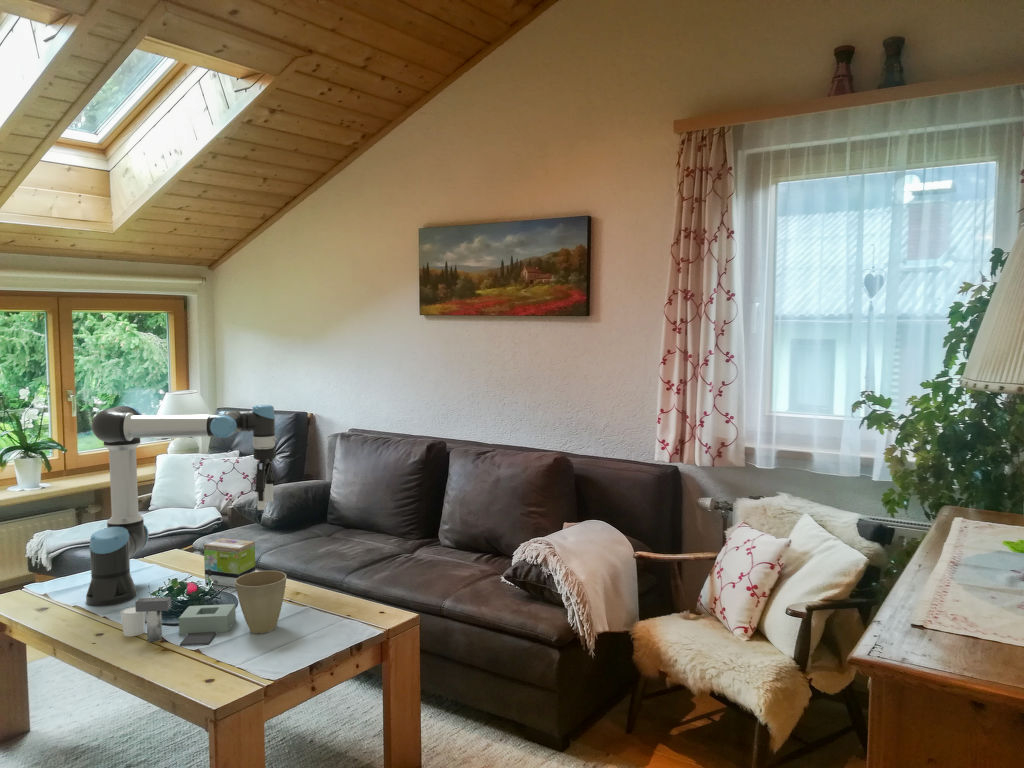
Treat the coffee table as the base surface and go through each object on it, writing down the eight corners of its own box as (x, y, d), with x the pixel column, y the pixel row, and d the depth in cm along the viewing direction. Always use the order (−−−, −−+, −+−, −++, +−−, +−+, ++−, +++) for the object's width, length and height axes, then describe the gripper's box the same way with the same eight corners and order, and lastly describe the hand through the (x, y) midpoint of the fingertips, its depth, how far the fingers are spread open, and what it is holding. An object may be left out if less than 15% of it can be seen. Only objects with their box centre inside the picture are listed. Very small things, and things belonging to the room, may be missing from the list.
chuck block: (179, 634, 225) (178, 617, 225) (189, 621, 235) (189, 606, 234) (227, 631, 226) (226, 615, 226) (235, 619, 236) (235, 604, 236)
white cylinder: (115, 635, 224) (115, 612, 224) (134, 627, 231) (133, 604, 230) (133, 638, 222) (132, 615, 221) (151, 629, 228) (151, 607, 228)
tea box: (203, 584, 270) (202, 544, 269) (222, 576, 280) (221, 537, 279) (239, 588, 266) (238, 547, 265) (256, 579, 275) (255, 540, 274)
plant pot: (261, 617, 239) (260, 567, 238) (297, 624, 232) (296, 574, 231) (225, 633, 225) (223, 581, 224) (262, 642, 219) (261, 589, 218)
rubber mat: (179, 645, 216) (179, 643, 216) (188, 635, 224) (188, 633, 224) (208, 644, 217) (208, 642, 217) (216, 633, 225) (216, 631, 225)
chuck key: (136, 642, 219) (134, 602, 218) (141, 637, 223) (139, 597, 222) (168, 641, 220) (166, 601, 219) (172, 635, 224) (171, 596, 223)
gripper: (268, 452, 259) (269, 513, 261) (281, 442, 284) (282, 497, 285) (245, 453, 258) (247, 513, 260) (260, 442, 283) (262, 498, 284)
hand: (265, 505), depth 273 cm, fingers open, 13 cm apart
